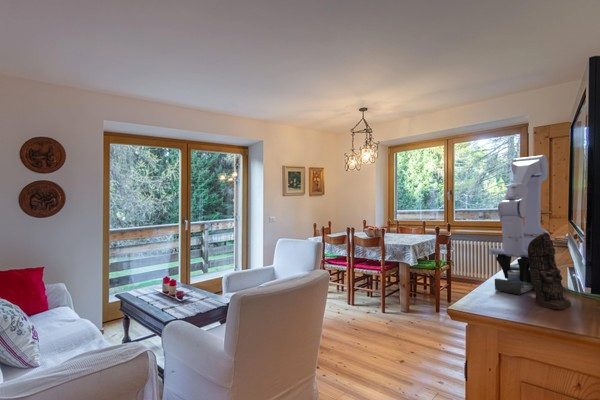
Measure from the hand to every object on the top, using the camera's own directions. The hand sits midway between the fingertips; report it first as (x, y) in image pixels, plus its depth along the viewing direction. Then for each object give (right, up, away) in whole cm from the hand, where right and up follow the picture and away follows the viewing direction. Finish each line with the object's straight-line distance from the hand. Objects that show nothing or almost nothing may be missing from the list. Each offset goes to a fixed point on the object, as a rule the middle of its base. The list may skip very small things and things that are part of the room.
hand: (515, 279), depth 101 cm
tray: (0, -3, 0) cm, 3 cm away
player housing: (+8, -3, +4) cm, 9 cm away
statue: (-1, -4, -15) cm, 15 cm away
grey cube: (0, -1, 0) cm, 1 cm away
